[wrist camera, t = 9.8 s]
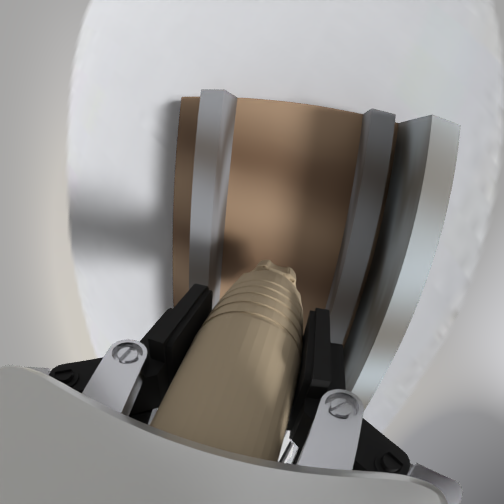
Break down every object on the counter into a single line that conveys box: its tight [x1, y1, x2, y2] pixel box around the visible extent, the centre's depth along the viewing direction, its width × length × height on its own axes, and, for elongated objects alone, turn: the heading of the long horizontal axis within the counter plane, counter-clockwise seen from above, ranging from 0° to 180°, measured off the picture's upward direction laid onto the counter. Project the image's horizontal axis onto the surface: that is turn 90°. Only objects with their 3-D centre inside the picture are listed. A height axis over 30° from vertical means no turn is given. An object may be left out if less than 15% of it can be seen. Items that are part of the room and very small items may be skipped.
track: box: [173, 90, 460, 410], centre depth 16 cm, size 19×14×6 cm
